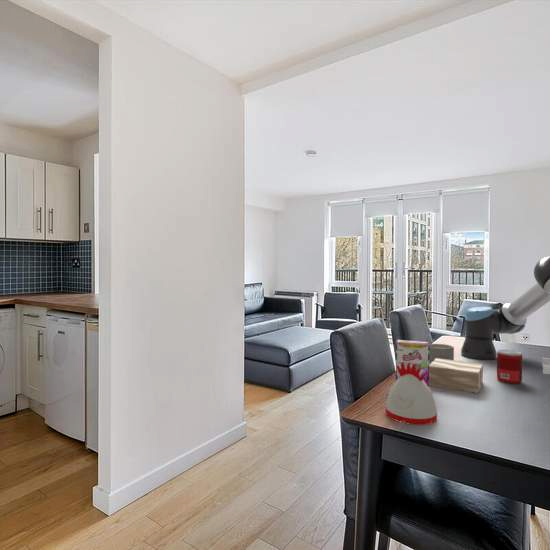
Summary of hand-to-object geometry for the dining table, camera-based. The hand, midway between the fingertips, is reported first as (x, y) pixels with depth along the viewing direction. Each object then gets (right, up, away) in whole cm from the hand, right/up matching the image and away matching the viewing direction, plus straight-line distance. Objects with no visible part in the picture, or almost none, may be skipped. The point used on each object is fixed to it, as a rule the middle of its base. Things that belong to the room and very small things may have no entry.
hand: (542, 365), depth 134 cm
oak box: (-30, -7, +2) cm, 31 cm away
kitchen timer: (-57, -8, -26) cm, 63 cm away
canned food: (-8, -8, +6) cm, 13 cm away
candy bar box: (-48, -8, -2) cm, 48 cm away
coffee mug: (-29, -7, +21) cm, 37 cm away
